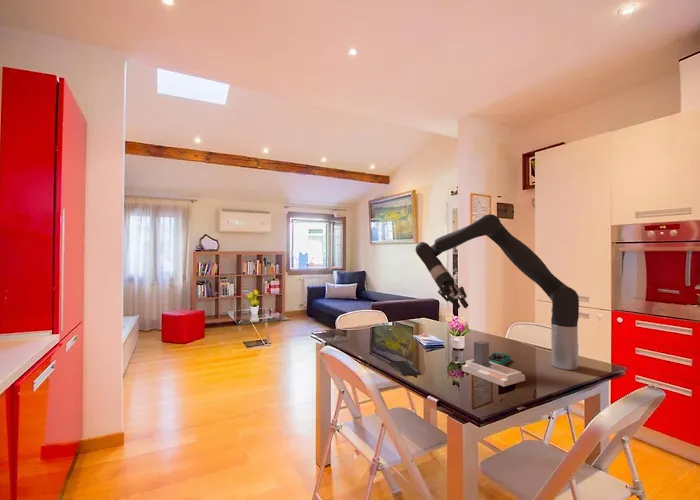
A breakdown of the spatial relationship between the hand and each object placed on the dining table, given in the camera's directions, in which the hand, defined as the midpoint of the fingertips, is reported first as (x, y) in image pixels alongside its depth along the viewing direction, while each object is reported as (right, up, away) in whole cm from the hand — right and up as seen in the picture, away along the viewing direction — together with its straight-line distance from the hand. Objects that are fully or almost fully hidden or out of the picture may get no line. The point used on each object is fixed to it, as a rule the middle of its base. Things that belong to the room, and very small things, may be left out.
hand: (462, 307), depth 144 cm
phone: (-26, -25, -5) cm, 36 cm away
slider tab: (+5, -22, -9) cm, 24 cm away
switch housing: (+7, -24, -13) cm, 28 cm away
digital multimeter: (+16, -25, +2) cm, 29 cm away
